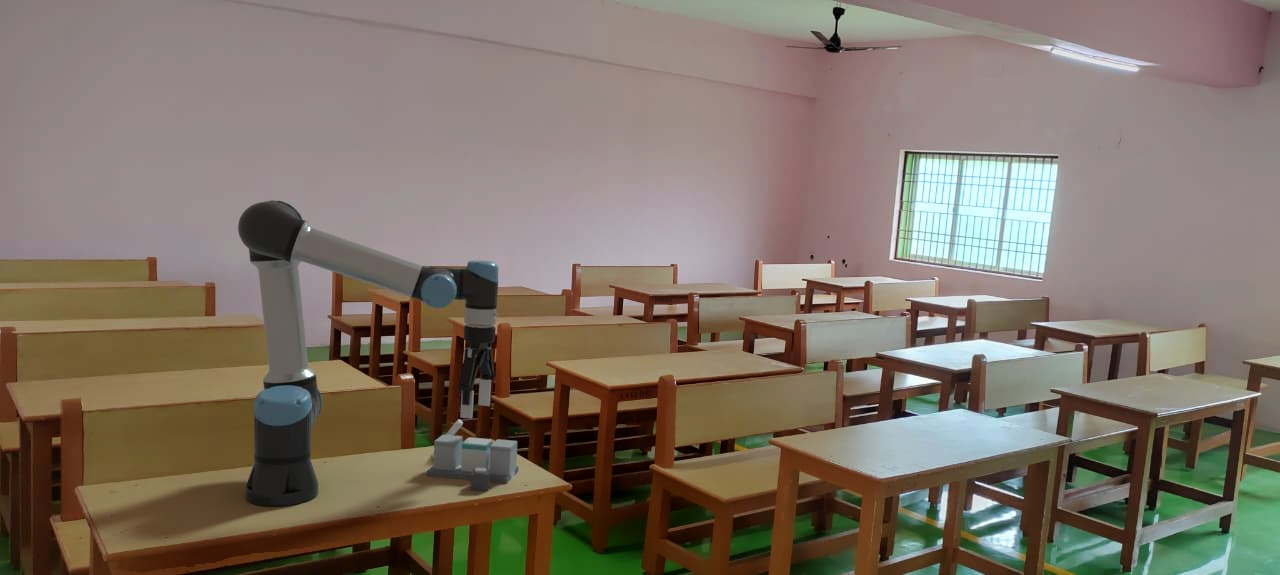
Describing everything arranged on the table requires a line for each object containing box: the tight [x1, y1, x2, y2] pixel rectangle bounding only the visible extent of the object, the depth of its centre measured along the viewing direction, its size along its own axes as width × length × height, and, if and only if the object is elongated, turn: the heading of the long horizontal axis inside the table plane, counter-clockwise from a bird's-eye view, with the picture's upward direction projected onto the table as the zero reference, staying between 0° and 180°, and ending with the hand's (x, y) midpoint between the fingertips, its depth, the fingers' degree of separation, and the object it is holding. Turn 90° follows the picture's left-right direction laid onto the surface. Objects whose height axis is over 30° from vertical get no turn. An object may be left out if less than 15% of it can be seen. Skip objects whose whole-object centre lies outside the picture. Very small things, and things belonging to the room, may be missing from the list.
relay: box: [470, 468, 490, 492], centre depth 217 cm, size 4×4×5 cm
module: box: [461, 437, 493, 472], centre depth 227 cm, size 6×5×7 cm
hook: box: [431, 418, 464, 459], centre depth 240 cm, size 8×12×7 cm
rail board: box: [426, 434, 519, 484], centre depth 227 cm, size 20×10×8 cm, turn 82°
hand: (475, 411), depth 226 cm, fingers open, 13 cm apart
